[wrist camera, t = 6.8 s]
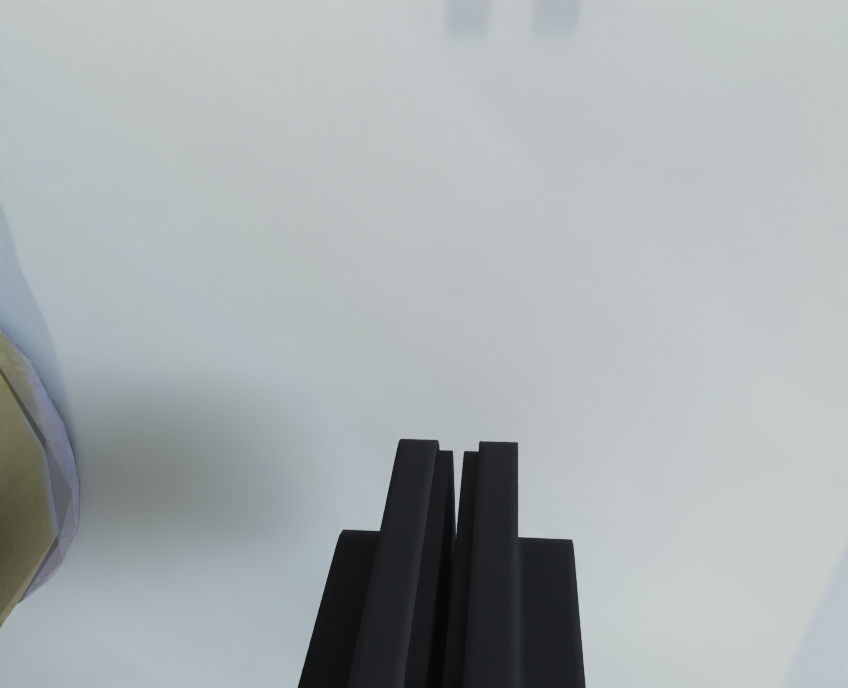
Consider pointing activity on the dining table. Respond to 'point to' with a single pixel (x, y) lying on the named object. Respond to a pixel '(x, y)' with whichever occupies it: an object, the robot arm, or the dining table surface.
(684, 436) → the dining table surface
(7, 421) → the canister
